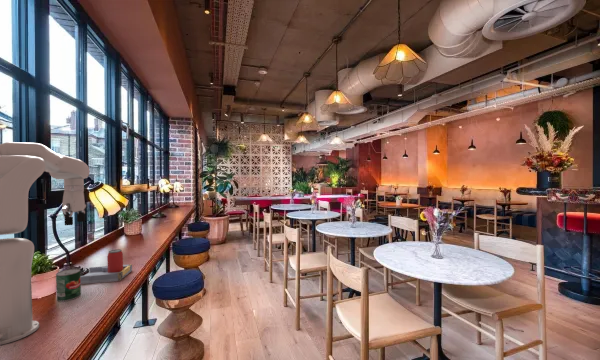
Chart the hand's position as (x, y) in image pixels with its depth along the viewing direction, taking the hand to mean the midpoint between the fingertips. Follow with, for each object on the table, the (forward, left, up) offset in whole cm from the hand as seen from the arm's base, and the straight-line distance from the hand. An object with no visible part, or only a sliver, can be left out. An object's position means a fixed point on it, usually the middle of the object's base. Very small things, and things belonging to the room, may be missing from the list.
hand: (75, 223), depth 134 cm
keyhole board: (0, -12, -28) cm, 31 cm away
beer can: (0, -18, -27) cm, 32 cm away
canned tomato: (-22, -9, -28) cm, 37 cm away
